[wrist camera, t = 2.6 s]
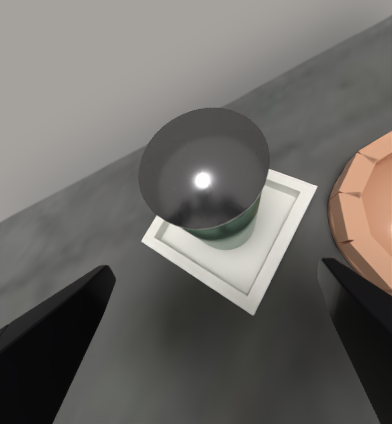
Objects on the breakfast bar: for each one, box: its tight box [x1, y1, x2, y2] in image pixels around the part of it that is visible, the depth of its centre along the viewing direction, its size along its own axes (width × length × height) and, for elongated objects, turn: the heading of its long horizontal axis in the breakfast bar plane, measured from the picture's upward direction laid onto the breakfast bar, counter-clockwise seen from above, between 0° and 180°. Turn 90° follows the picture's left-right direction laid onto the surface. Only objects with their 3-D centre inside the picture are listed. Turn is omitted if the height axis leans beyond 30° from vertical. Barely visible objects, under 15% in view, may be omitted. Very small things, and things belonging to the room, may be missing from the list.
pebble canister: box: [139, 108, 270, 250], centre depth 14 cm, size 6×6×11 cm
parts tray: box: [142, 169, 318, 316], centre depth 19 cm, size 12×12×2 cm
